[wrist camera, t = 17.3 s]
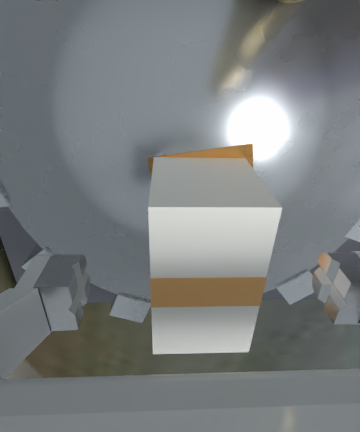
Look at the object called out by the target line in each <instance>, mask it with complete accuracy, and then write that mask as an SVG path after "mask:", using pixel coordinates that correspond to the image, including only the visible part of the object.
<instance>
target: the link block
mask: <svg viewBox="0 0 360 432" xmlns="http://www.w3.org/2000/svg"><path fill="white" fill-rule="evenodd" d="M281 212H282V206H281V205H280V204H279V202H278V201H277V200H276V198H275V197H274V196H273V194H272V193H271V192H270V190H269V189H268V188H267V186H266V185H265V184H264V182H263V181H262V180H261V178H260V177H259V176H258V174H257V173H256V172H255V170H254V169H253V168H252V166H251V165H250V164H249V162H248V161H247V160H246V158H187V157H154V160H153V169H152V178H151V186H150V195H149V204H148V218H149V249H150V291H151V310H152V341H153V354H183V353H227V352H249V349H250V345H251V341H252V336H253V332H254V328H255V323H256V319H257V315H258V310H259V306H260V304H261V300H262V296H263V292H264V287H265V283H266V279H267V277H266V276H267V272H268V267H269V263H270V259H271V255H272V250H273V246H274V242H275V237H276V233H277V229H278V224H279V220H280V216H281Z"/></svg>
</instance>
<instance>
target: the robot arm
mask: <svg viewBox="0 0 360 432" xmlns="http://www.w3.org/2000/svg"><path fill="white" fill-rule="evenodd" d="M317 262H318V264H319V266H320V267H319V268H318V269H317V270H316V271H314V274H313V277H312V287H313V290H314V293H315V295H316V296H317V298H318V299H319V300H321V301H323V302H324V303H325V306H324V309H325V311H326V313H327V314H328V316H329V317H330V319H331V321H332V322H333V324H359V326H360V251H356V252H327V253H322V254H321V255H320V256H319V258H318V261H317ZM86 266H87V262H86V257H85V256H84V255H72V254H54V255H52V254H38V255H36V256H35V257H34V258H33V260H32V261H31V263H30V265H29V266H28V268H27V269H26V271H25V272H24V274H23V275H22V277H21V278H20V280H19V281H18V283H17V285H16V286H15V288H9V289H7V290H6V291H4V292H2V293H1V294H0V432H360V369H330V370H297V371H263V372H230V373H196V374H162V375H128V376H95V377H61V378H32V379H31V378H29V379H5V378H6V377H7V376H8V375H9V374H10V373H11V372H12V371H13V370H14V369H15V368H16V367H17V366H18V365H19V364H20V363H21V362H22V361H23V360H24V359H25V358H26V357H27V356H28V355H29V354H30V353H31V352H32V351H33V350H34V349H35V348H36V347H37V346H38V345H39V344H40V343H41V342H42V341H43V340H44V339H45V338H46V337H47V336H48V335H49V334H50V333H51V331H63V330H78V329H79V326H80V323H81V320H82V317H83V313H84V312H83V307H82V306H83V305H84V304H86V303H87V301H88V297H89V291H90V279H89V274H88V273H86V272H85V269H86Z"/></svg>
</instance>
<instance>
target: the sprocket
mask: <svg viewBox="0 0 360 432" xmlns="http://www.w3.org/2000/svg"><path fill="white" fill-rule="evenodd" d="M154 157H187V158H246V160H247V161H248V162H249V164H250V165H251V166H252V168H253V169H254V170H255V172H256V173H257V174H258V176H259V177H260V178H261V180H262V181H263V182H264V184H265V185H266V186H267V188H268V189H269V190H270V192H271V193H272V194H273V196H274V197H275V198H276V200H277V201H278V202H279V204H280V205H281V206H282V212H281V216H280V220H279V224H278V229H277V233H276V237H275V242H274V246H273V250H272V255H271V259H270V263H269V267H268V272H267V276H266V277H267V279H266V283H265V287H264V292H263V293H265V292H267V291H270V290H273V289H275V288H277V290H278V291H279V292H280V293H281V294H282V296H283V297H284V298H285V299H286V301H287V302H288V303H289V304H292V303H294V302H296V301H298V300H300V299H302V298H304V297H306V296H308V295H310V294H312V293H314V290H313V287H312V277H313V275H312V274H311V272H310V270H311V269H312V268H314V267H315V266H316V265H318V262H317V261H318V258H319V256H320V255H321V254H322V253H327V252H334V251H336V250H337V249H338V248H339V247H340V246H341V245H342V244H343V243H345V242H346V241H347V240H348V239H349V238H350V239H353V240H355V241H358V242H360V0H0V207H7V206H8V207H9V209H10V210H11V212H12V213H13V214H14V216H15V217H16V218H17V220H18V221H19V222H20V224H21V225H22V227H23V228H24V229H25V230H26V232H27V233H28V234H29V235H30V236H31V237H32V238H33V239H34V240H35V241H36V242H37V244H36V245H35V247H34V248H33V250H32V251H31V253H30V254H29V256H28V257H27V259H26V260H25V262H24V263H23V265H22V266H21V267H22V268H23V269H25V270H26V269H27V268H28V266H29V265H30V263H31V261H32V260H33V258H34V257H35V256H36V255H38V254H52V255H54V254H72V255H84V256H85V257H86V262H87V266H86V269H85V272H86V273H88V274H89V279H90V283H92V284H94V285H96V286H98V287H100V288H103V289H105V290H107V291H110V292H112V293H114V295H113V300H112V305H111V309H110V314H109V315H111V316H115V317H119V318H123V319H128V320H132V321H136V322H140V323H142V322H143V320H144V318H145V316H146V314H147V312H148V310H149V308H150V306H151V291H150V249H149V218H148V204H149V195H150V186H151V178H152V169H153V160H154Z"/></svg>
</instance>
